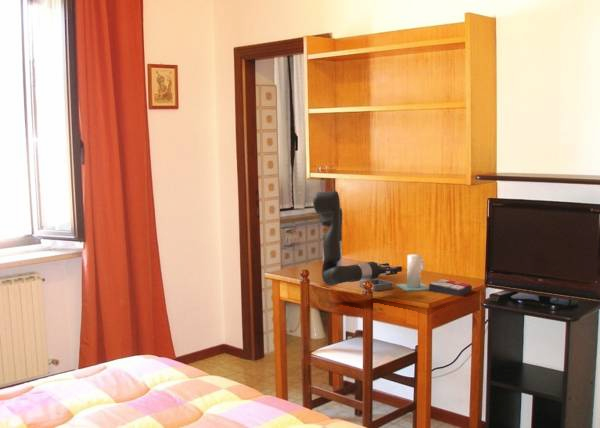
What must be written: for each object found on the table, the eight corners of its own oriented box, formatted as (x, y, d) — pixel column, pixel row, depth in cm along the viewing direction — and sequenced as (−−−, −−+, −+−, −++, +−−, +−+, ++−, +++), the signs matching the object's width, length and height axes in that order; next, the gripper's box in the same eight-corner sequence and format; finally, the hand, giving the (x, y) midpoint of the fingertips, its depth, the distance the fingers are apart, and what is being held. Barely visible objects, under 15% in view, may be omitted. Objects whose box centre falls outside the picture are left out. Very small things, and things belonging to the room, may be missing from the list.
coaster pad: (396, 285, 311) (396, 284, 311) (421, 284, 314) (421, 282, 314) (406, 291, 300) (406, 290, 300) (431, 289, 302) (431, 288, 302)
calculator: (460, 288, 290) (429, 282, 300) (459, 298, 291) (428, 291, 300) (472, 284, 298) (441, 277, 308) (471, 293, 299) (441, 287, 308)
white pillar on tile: (412, 288, 302) (413, 257, 301) (404, 285, 308) (404, 254, 306) (426, 286, 307) (427, 255, 305) (417, 283, 312) (418, 253, 310)
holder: (374, 291, 301) (374, 285, 301) (359, 286, 310) (359, 281, 309) (392, 288, 307) (392, 282, 306) (377, 283, 315) (377, 278, 315)
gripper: (376, 265, 284) (406, 261, 293) (355, 260, 296) (384, 256, 305) (376, 283, 285) (406, 278, 294) (355, 277, 297) (384, 272, 306)
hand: (395, 267), depth 300 cm, fingers open, 8 cm apart
